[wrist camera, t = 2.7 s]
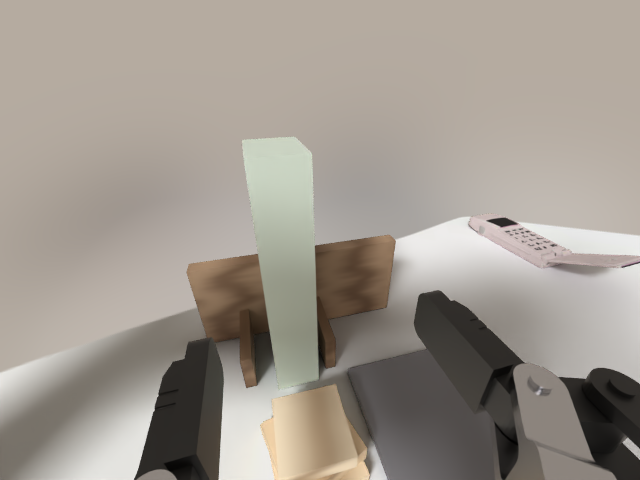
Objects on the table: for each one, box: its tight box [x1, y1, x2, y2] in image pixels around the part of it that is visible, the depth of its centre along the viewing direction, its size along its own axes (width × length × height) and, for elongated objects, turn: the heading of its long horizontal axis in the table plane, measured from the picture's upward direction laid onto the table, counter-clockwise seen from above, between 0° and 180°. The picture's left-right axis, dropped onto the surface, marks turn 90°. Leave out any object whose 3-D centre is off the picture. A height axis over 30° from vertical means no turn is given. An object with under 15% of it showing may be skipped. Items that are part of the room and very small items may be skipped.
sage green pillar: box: [242, 137, 319, 390], centre depth 24 cm, size 4×6×22 cm, turn 14°
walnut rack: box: [187, 235, 396, 388], centre depth 29 cm, size 22×8×10 cm, turn 104°
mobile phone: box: [469, 213, 640, 268], centre depth 46 cm, size 6×6×25 cm
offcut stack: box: [260, 384, 370, 480], centre depth 21 cm, size 7×7×4 cm
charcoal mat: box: [348, 349, 495, 480], centre depth 24 cm, size 14×14×1 cm
